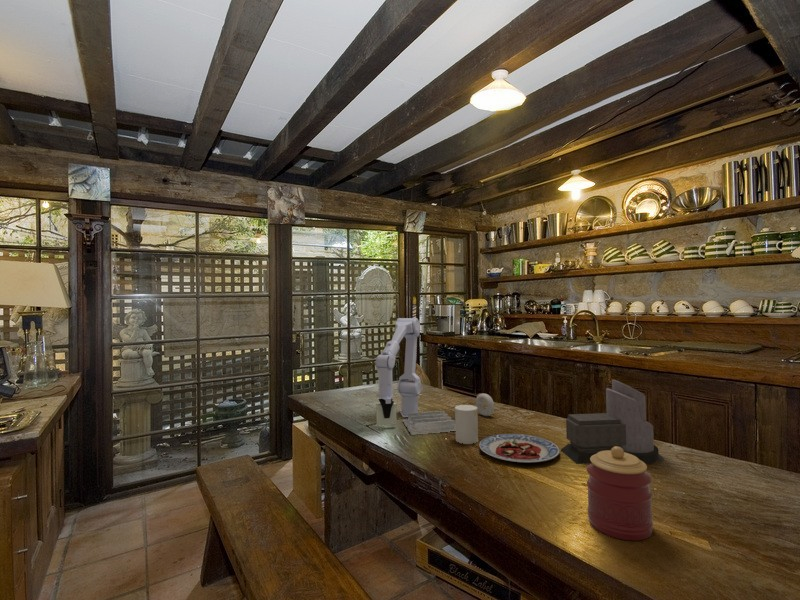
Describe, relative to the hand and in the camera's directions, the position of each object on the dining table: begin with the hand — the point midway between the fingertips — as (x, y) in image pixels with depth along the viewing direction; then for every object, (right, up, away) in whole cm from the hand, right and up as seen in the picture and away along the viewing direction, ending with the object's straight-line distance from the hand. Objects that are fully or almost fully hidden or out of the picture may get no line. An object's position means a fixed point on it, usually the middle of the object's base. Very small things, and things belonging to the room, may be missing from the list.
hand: (386, 417), depth 165 cm
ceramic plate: (+45, -4, -29) cm, 54 cm away
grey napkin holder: (+75, -3, -33) cm, 82 cm away
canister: (+55, -3, -74) cm, 92 cm away
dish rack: (+18, -4, +1) cm, 19 cm away
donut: (+43, -4, +14) cm, 46 cm away
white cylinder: (+30, -4, -16) cm, 35 cm away
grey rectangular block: (0, -3, 0) cm, 3 cm away
